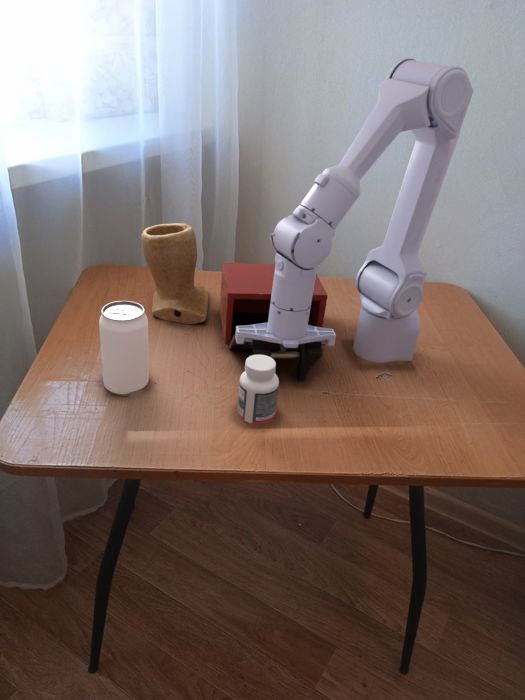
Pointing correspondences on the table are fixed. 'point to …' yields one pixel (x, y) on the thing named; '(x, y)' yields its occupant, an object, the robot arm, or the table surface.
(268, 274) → the oven
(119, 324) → the can
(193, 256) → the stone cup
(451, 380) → the table surface
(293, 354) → the oven door
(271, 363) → the pill bottle
